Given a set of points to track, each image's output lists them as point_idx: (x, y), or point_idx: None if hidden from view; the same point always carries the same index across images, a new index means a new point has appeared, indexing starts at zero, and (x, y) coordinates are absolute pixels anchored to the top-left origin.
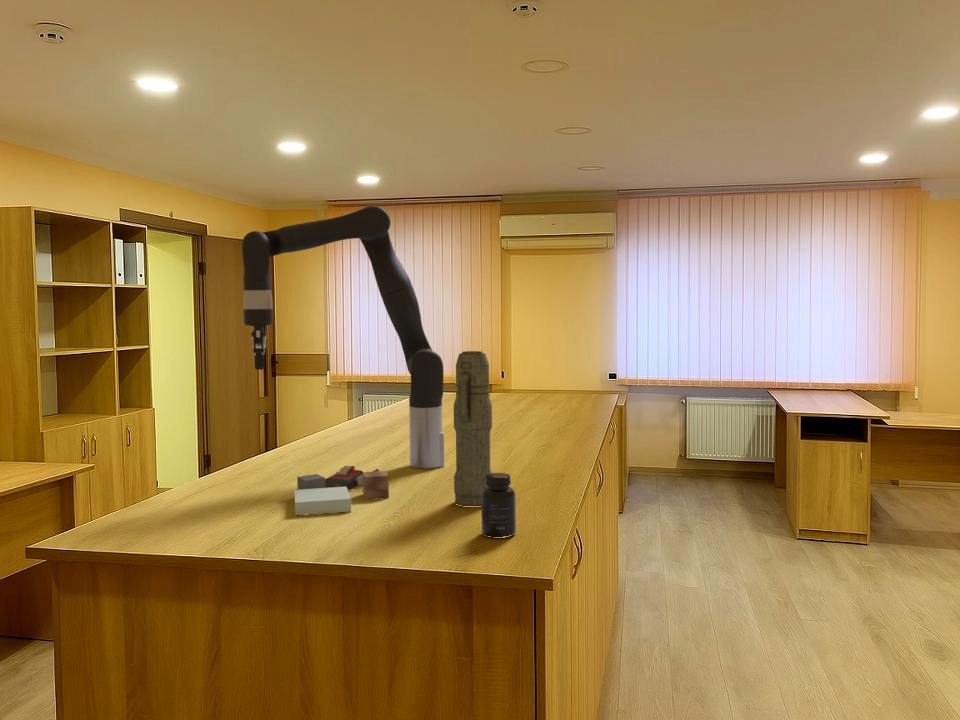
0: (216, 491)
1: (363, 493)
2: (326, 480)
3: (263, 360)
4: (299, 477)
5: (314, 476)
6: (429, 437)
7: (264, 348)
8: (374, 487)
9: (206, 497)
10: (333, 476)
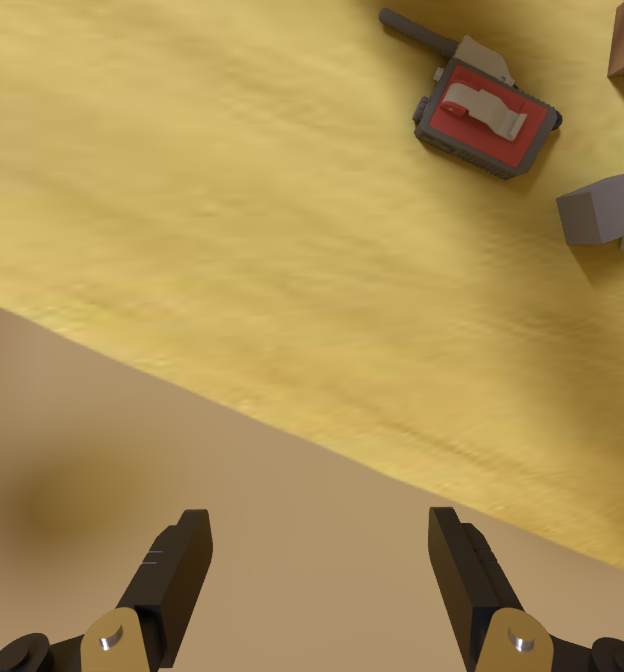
0: (450, 414)
1: (618, 74)
2: (526, 171)
3: (477, 558)
4: (613, 238)
5: (619, 198)
6: None
7: (44, 658)
8: None
9: (496, 426)
10: (512, 149)
